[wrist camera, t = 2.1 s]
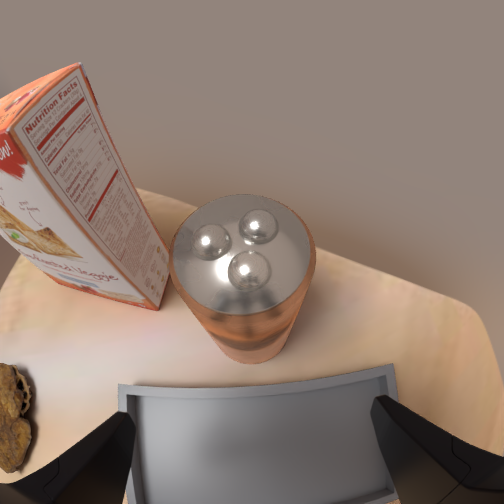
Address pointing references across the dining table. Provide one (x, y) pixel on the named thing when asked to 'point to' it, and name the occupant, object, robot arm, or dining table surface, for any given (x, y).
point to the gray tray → (260, 442)
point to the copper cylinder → (244, 272)
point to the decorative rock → (13, 418)
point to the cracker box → (75, 194)
